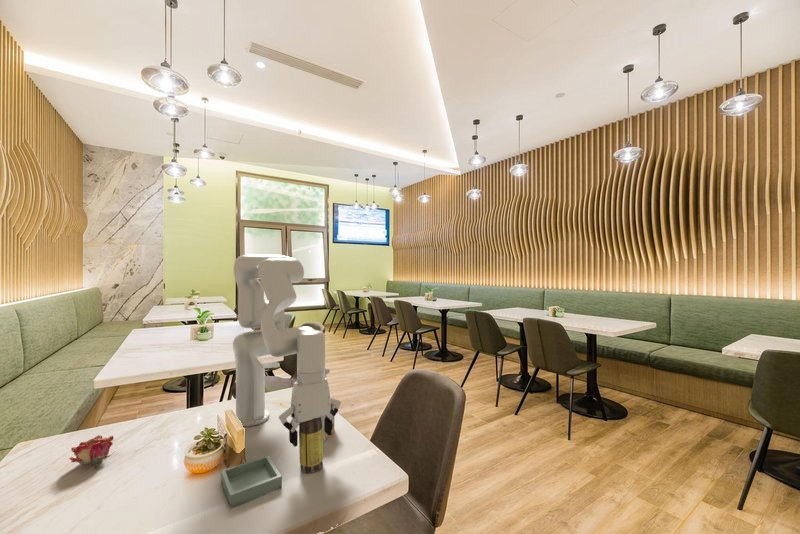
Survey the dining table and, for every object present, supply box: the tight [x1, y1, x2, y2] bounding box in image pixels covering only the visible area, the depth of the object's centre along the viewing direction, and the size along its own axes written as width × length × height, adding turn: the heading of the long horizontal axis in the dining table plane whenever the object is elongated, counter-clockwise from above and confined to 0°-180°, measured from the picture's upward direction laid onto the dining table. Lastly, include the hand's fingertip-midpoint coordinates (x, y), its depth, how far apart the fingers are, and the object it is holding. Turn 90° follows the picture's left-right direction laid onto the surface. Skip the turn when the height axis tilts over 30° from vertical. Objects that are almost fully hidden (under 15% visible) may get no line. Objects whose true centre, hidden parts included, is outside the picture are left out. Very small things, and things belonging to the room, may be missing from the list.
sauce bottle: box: [298, 417, 324, 474], centre depth 92 cm, size 6×6×20 cm
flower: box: [69, 435, 115, 470], centre depth 92 cm, size 10×9×8 cm
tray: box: [220, 454, 283, 509], centre depth 84 cm, size 12×12×3 cm
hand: (311, 438), depth 92 cm, fingers open, 9 cm apart
